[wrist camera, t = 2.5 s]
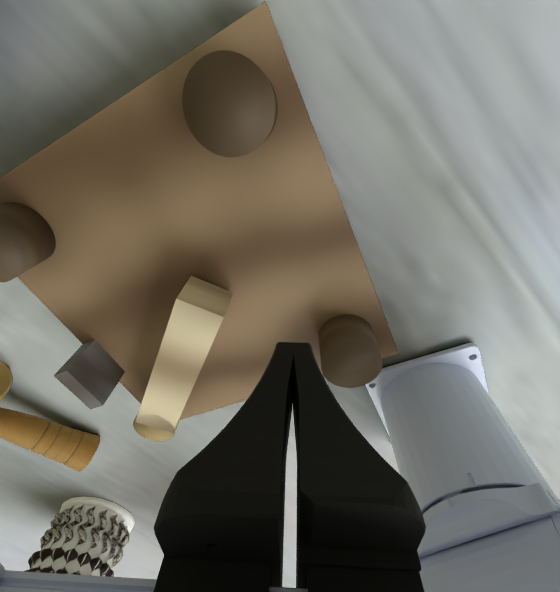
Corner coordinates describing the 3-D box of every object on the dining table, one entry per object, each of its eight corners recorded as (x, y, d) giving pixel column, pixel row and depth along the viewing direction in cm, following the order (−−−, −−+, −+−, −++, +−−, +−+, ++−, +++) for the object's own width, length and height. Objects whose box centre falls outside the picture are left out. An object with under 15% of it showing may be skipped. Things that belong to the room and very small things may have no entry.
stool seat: (388, 329, 21) (412, 388, 17) (173, 399, 26) (146, 460, 22) (271, 18, 14) (256, -29, 9) (-7, 197, 18) (-109, 226, 14)
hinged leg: (180, 415, 23) (169, 445, 21) (145, 403, 22) (129, 433, 20) (234, 293, 17) (225, 318, 15) (189, 274, 17) (174, 297, 15)
